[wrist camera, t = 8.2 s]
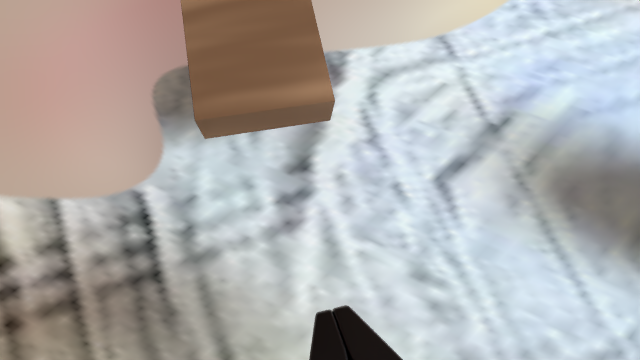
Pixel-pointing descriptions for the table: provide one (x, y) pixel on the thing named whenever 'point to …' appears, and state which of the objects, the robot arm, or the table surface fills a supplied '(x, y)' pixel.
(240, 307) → the table surface
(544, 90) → the table surface
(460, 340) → the table surface
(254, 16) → the domino
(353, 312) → the robot arm
